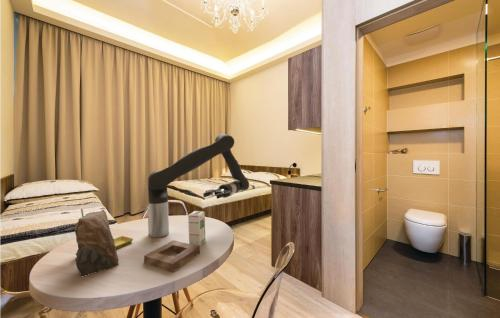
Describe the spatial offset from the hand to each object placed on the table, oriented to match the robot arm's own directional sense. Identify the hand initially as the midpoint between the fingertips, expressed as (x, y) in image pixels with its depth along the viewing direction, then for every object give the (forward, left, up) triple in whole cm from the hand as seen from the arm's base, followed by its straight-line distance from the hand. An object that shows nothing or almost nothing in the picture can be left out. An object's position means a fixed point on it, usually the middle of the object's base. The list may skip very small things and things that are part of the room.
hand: (210, 195), depth 106 cm
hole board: (0, -26, -20) cm, 33 cm away
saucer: (-33, -27, -21) cm, 47 cm away
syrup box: (0, -11, -21) cm, 23 cm away
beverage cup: (-36, -39, -20) cm, 57 cm away
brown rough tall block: (-21, -42, -21) cm, 51 cm away
